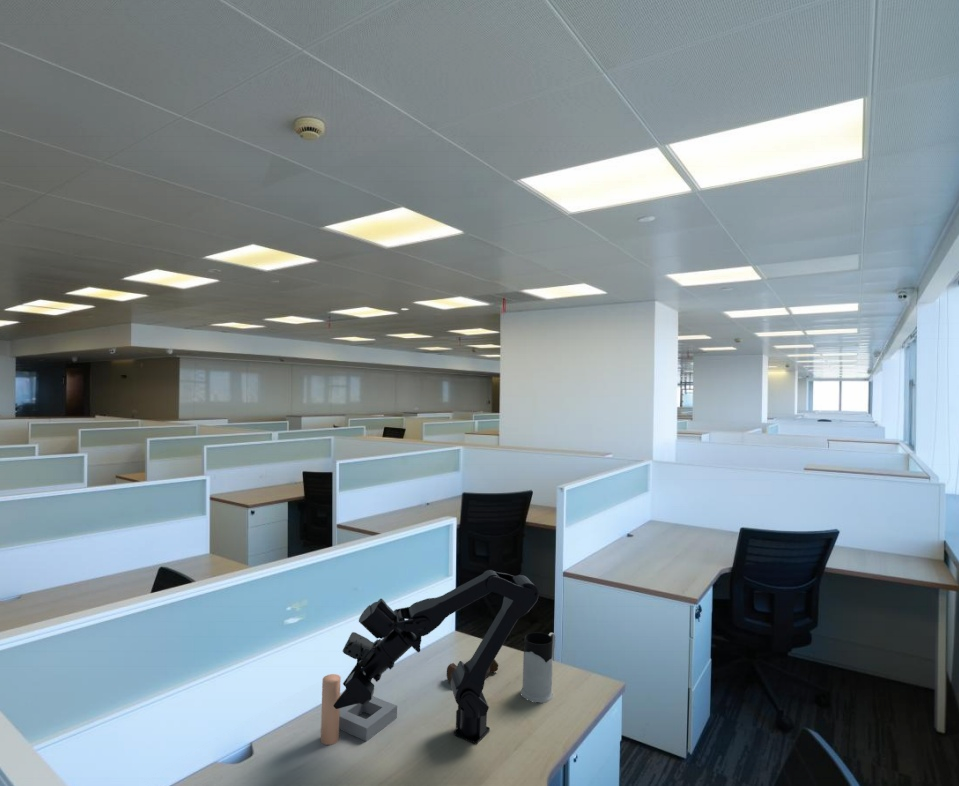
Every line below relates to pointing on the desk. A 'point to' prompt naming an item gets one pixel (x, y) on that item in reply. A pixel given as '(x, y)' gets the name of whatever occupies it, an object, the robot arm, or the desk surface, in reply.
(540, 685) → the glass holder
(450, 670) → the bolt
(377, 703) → the socket block
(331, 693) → the peg
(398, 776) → the desk surface
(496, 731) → the desk surface
